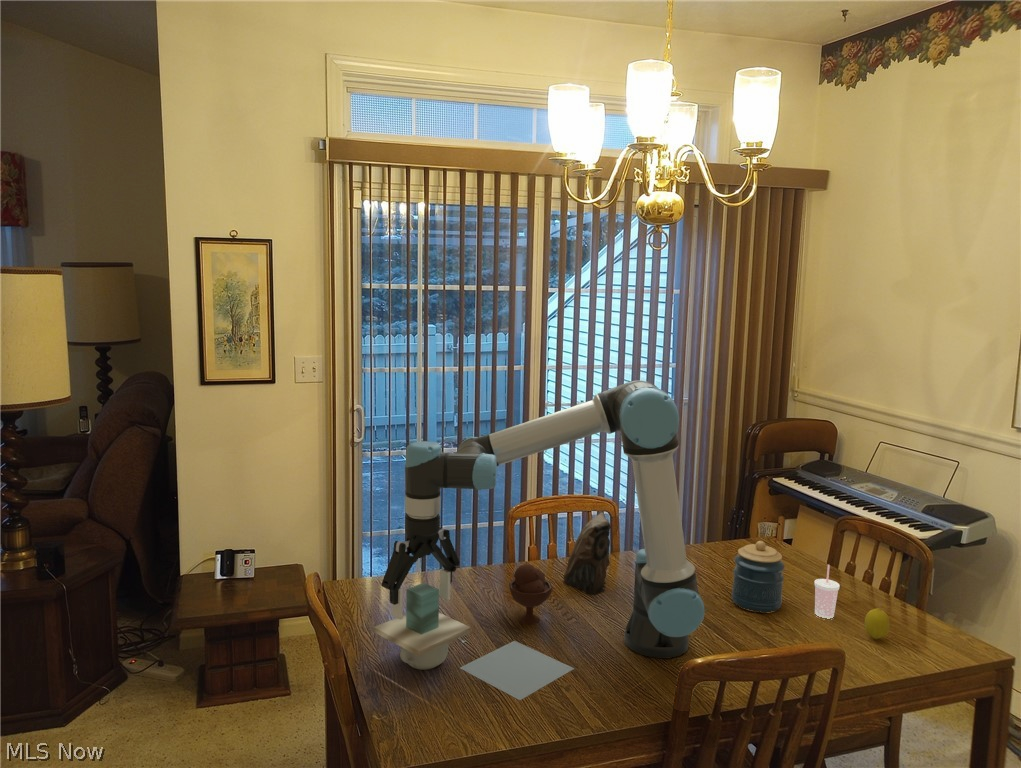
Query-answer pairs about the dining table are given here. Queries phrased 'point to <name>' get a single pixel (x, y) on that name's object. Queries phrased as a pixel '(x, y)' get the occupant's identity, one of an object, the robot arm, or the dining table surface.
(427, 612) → the lid
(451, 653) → the dining table surface
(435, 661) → the teacup
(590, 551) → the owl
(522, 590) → the ice cream bowl
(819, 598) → the beverage cup
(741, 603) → the canister
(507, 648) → the mat
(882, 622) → the lemon
